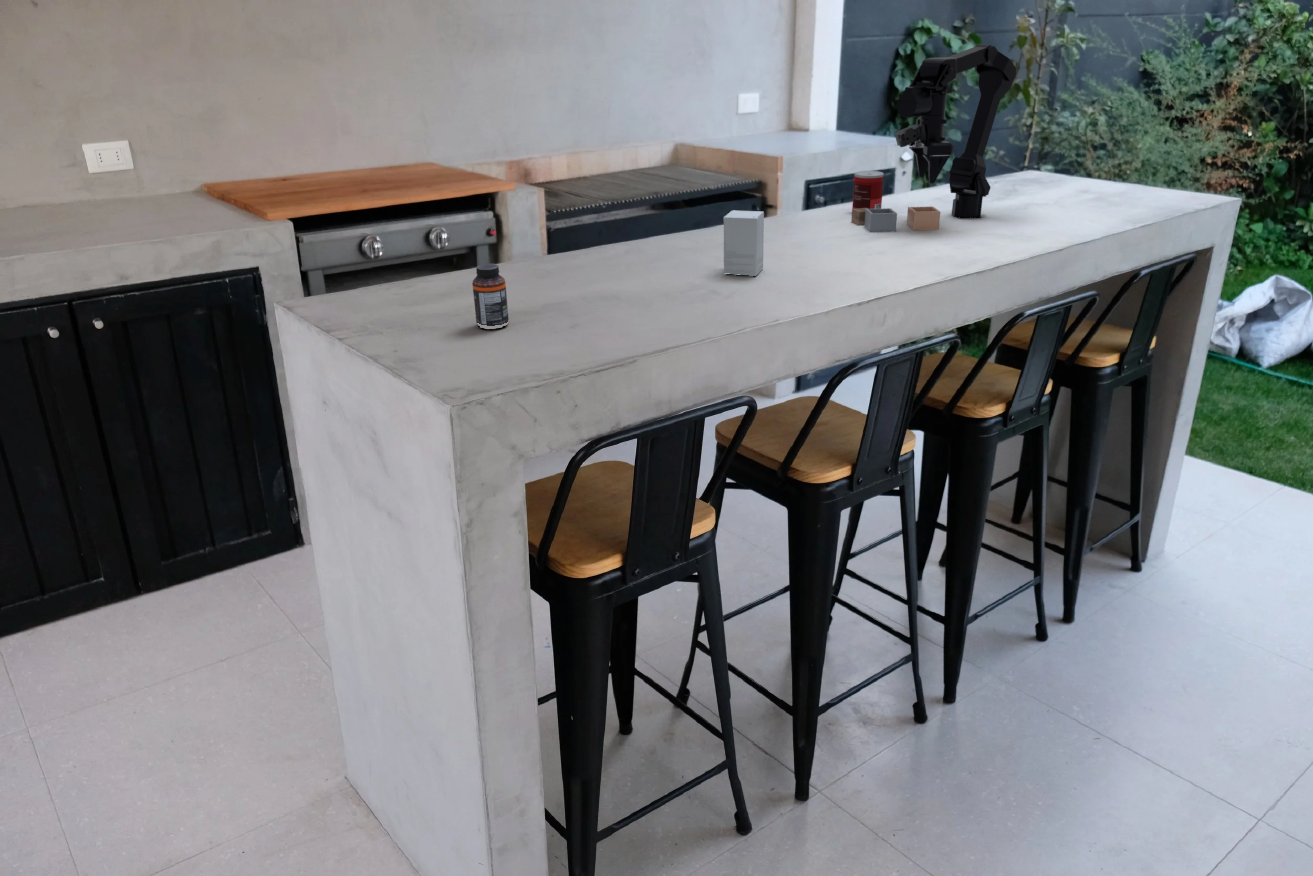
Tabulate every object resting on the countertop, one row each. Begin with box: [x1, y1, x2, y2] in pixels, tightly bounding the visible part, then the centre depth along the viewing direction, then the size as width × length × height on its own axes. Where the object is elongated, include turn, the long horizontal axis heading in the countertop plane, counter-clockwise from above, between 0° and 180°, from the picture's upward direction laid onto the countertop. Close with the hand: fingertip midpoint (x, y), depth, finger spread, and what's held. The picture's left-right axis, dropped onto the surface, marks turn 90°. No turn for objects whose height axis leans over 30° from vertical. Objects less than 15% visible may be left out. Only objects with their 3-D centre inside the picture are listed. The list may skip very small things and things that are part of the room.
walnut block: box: [850, 208, 868, 226], centre depth 253 cm, size 4×4×4 cm
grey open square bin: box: [863, 207, 898, 233], centre depth 247 cm, size 6×6×5 cm
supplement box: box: [722, 209, 765, 277], centre depth 212 cm, size 7×7×13 cm
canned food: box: [851, 170, 885, 210], centre depth 264 cm, size 8×8×11 cm
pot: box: [906, 206, 941, 231], centre depth 248 cm, size 6×6×5 cm
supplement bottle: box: [472, 263, 510, 326], centre depth 180 cm, size 6×6×11 cm
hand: (926, 179), depth 245 cm, fingers open, 9 cm apart
